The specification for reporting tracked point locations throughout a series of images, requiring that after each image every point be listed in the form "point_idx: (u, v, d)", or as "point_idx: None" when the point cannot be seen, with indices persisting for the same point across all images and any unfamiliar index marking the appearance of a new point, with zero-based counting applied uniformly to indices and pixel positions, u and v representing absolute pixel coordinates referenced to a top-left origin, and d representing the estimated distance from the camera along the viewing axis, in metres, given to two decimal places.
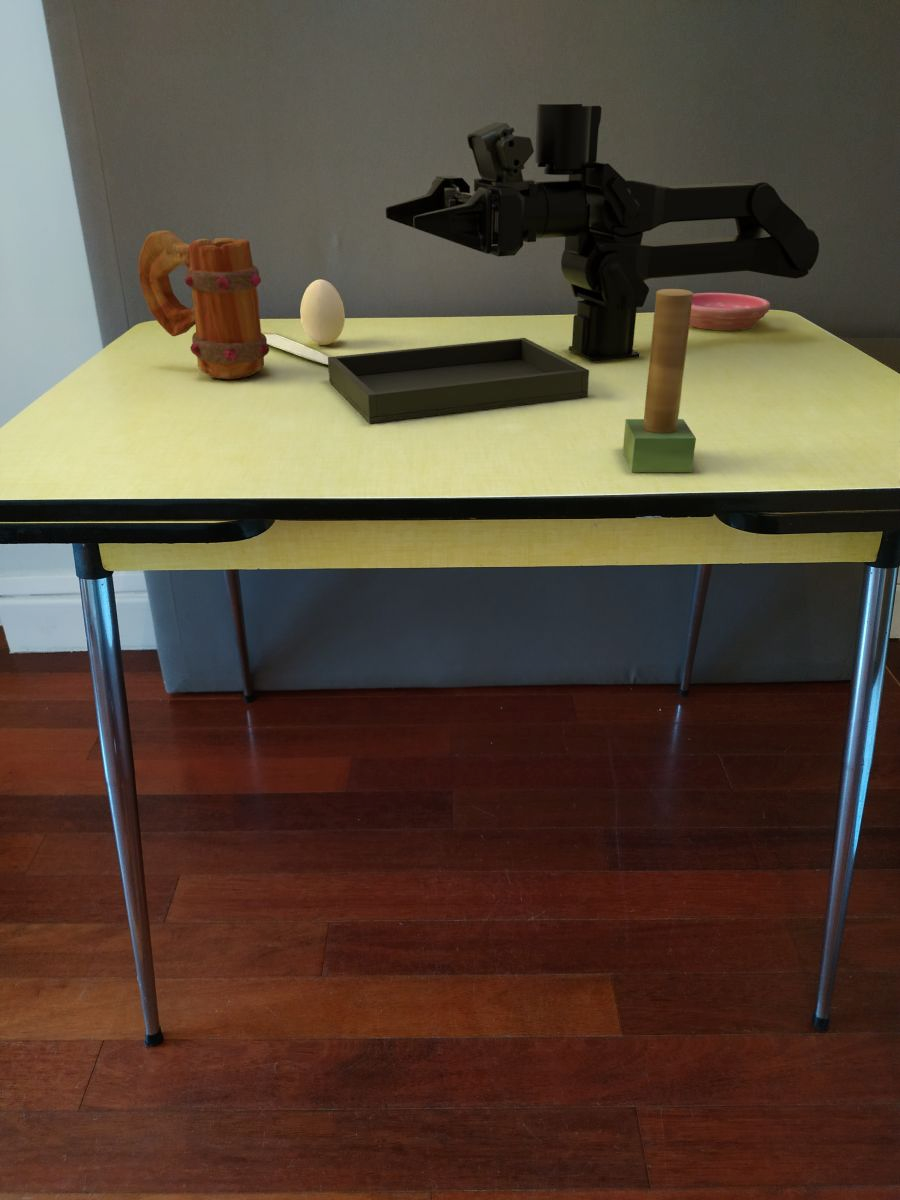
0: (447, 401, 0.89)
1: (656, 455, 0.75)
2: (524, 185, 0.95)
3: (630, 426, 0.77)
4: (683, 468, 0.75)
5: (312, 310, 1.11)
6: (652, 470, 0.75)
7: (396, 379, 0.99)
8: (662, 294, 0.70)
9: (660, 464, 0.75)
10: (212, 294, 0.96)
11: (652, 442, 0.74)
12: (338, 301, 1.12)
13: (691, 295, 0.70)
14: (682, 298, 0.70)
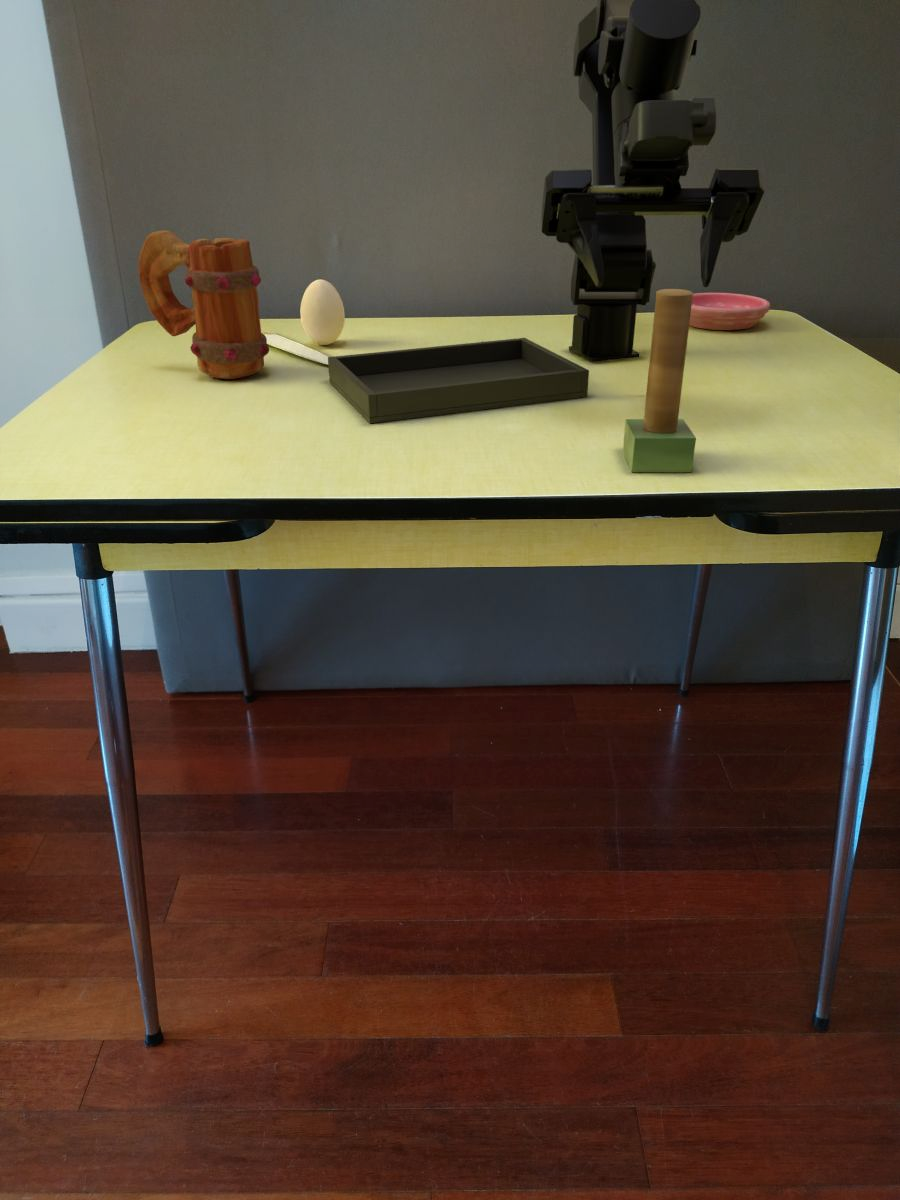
0: (447, 401, 0.89)
1: (656, 455, 0.75)
2: None
3: (630, 426, 0.77)
4: (683, 468, 0.75)
5: (312, 310, 1.11)
6: (652, 470, 0.75)
7: (396, 379, 0.99)
8: (662, 294, 0.70)
9: (660, 464, 0.75)
10: (212, 294, 0.96)
11: (652, 442, 0.74)
12: (338, 301, 1.12)
13: (691, 295, 0.70)
14: (682, 298, 0.70)
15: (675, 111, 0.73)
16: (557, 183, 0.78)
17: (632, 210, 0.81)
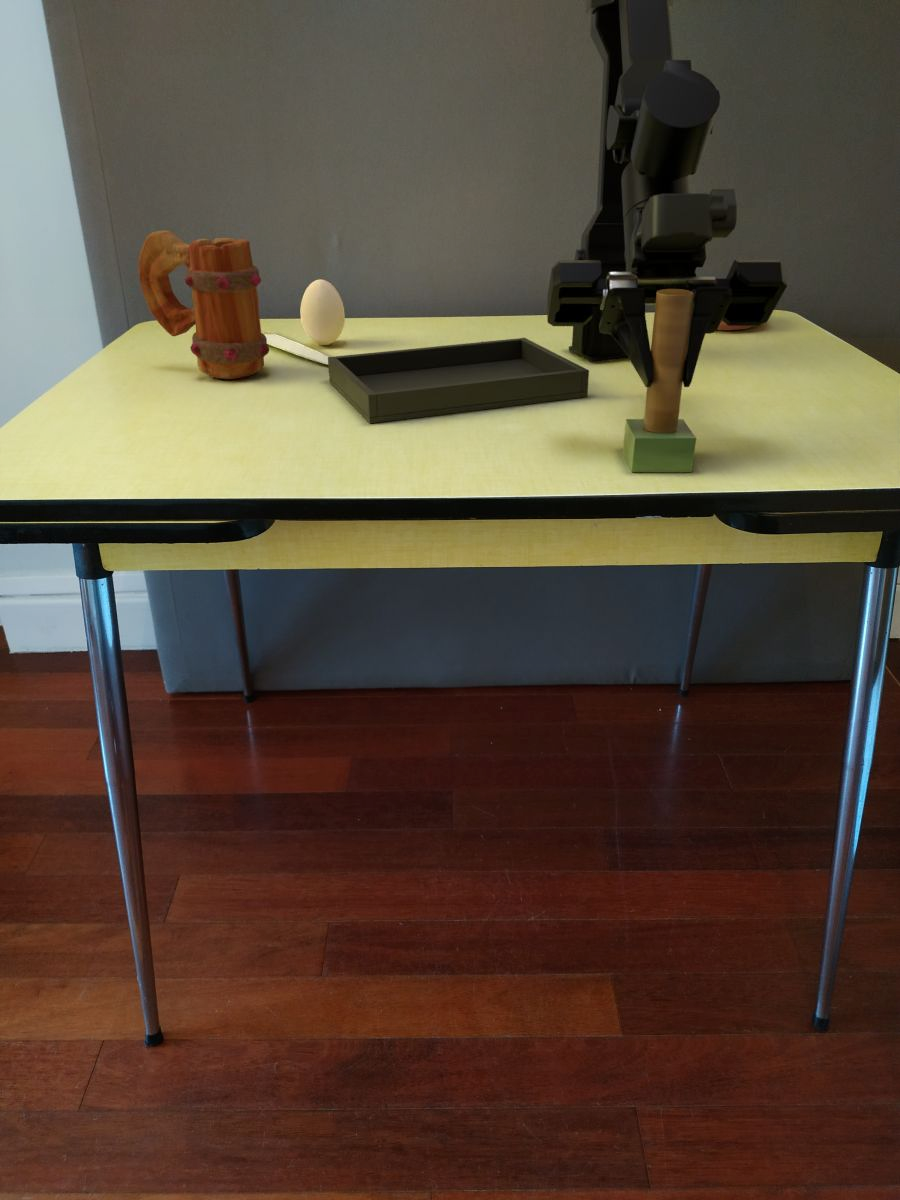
0: (447, 401, 0.89)
1: (656, 455, 0.75)
2: None
3: (630, 426, 0.77)
4: (683, 468, 0.75)
5: (312, 310, 1.11)
6: (652, 470, 0.75)
7: (396, 379, 0.99)
8: (662, 294, 0.70)
9: (660, 464, 0.75)
10: (212, 294, 0.96)
11: (652, 442, 0.74)
12: (338, 301, 1.12)
13: (691, 295, 0.70)
14: (682, 298, 0.70)
15: (693, 205, 0.68)
16: (565, 277, 0.72)
17: (645, 301, 0.75)
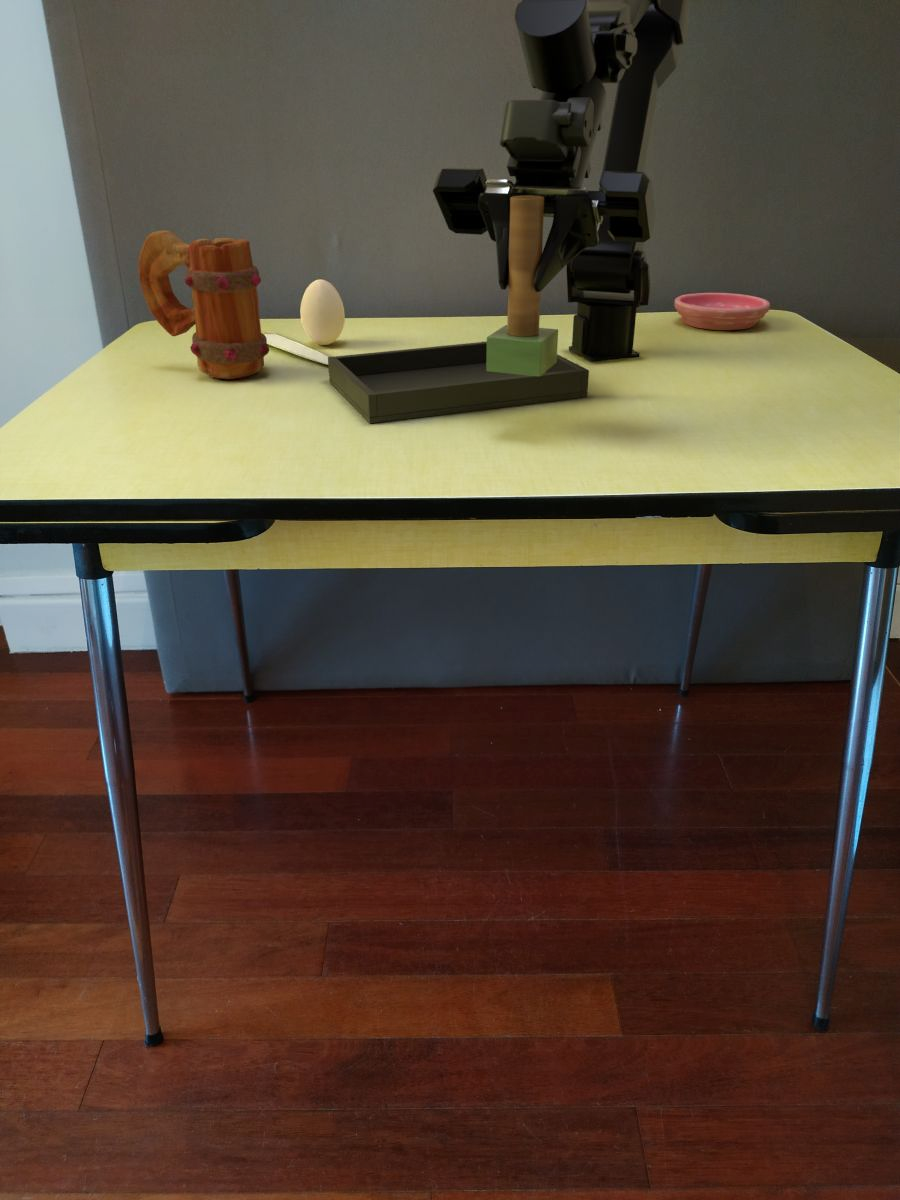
0: (447, 401, 0.89)
1: (506, 355, 0.79)
2: None
3: (499, 329, 0.81)
4: (532, 371, 0.79)
5: (312, 310, 1.11)
6: (504, 371, 0.80)
7: (396, 379, 0.99)
8: (511, 198, 0.74)
9: (511, 365, 0.79)
10: (212, 294, 0.96)
11: (502, 342, 0.79)
12: (338, 301, 1.12)
13: (537, 200, 0.74)
14: (526, 201, 0.74)
15: (538, 111, 0.72)
16: (442, 181, 0.79)
17: None
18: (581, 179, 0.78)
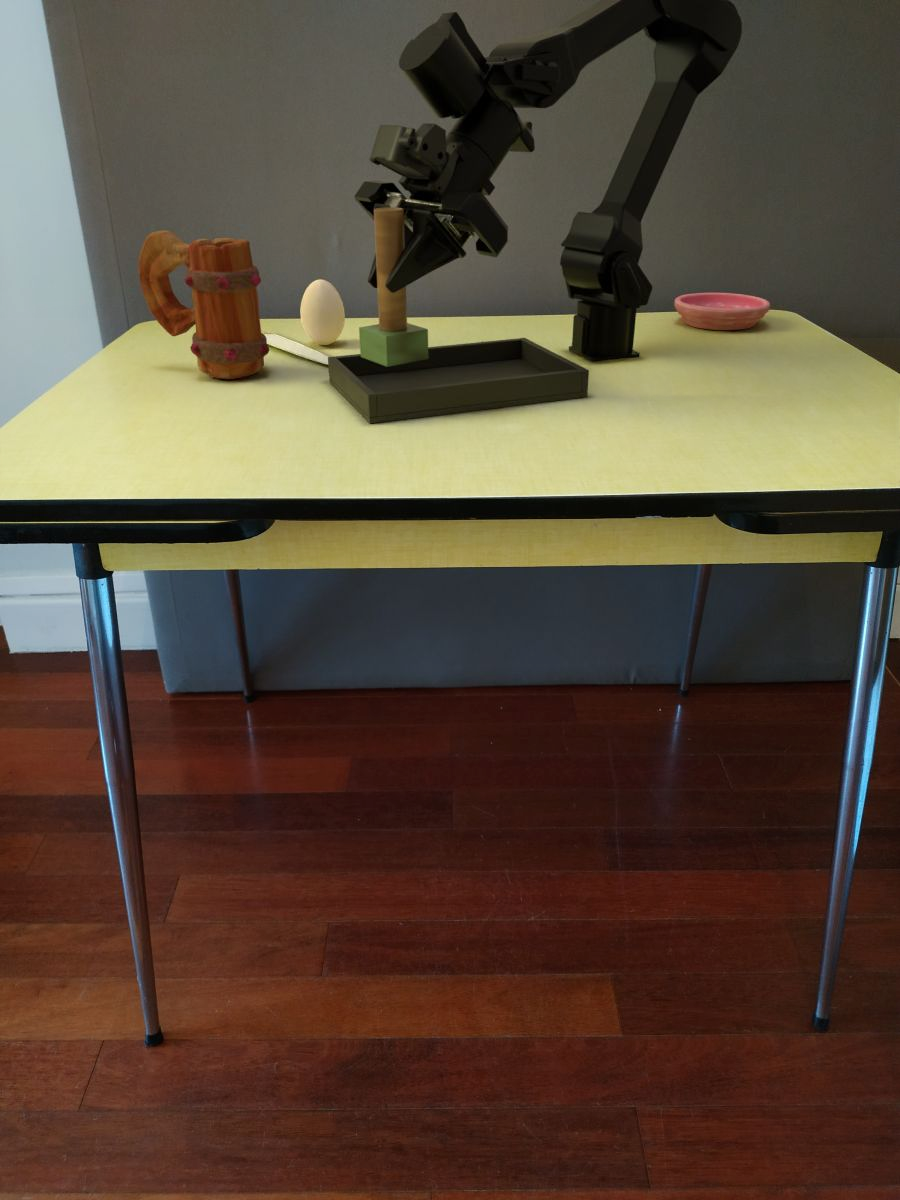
0: (447, 401, 0.89)
1: (369, 345, 0.91)
2: (454, 158, 0.85)
3: None
4: (383, 362, 0.90)
5: (312, 310, 1.11)
6: (369, 358, 0.91)
7: (396, 379, 0.99)
8: (375, 209, 0.86)
9: (372, 354, 0.91)
10: (212, 294, 0.96)
11: (366, 333, 0.90)
12: (338, 301, 1.12)
13: (388, 212, 0.84)
14: (378, 212, 0.85)
15: (391, 135, 0.82)
16: (359, 192, 0.92)
17: None
18: None
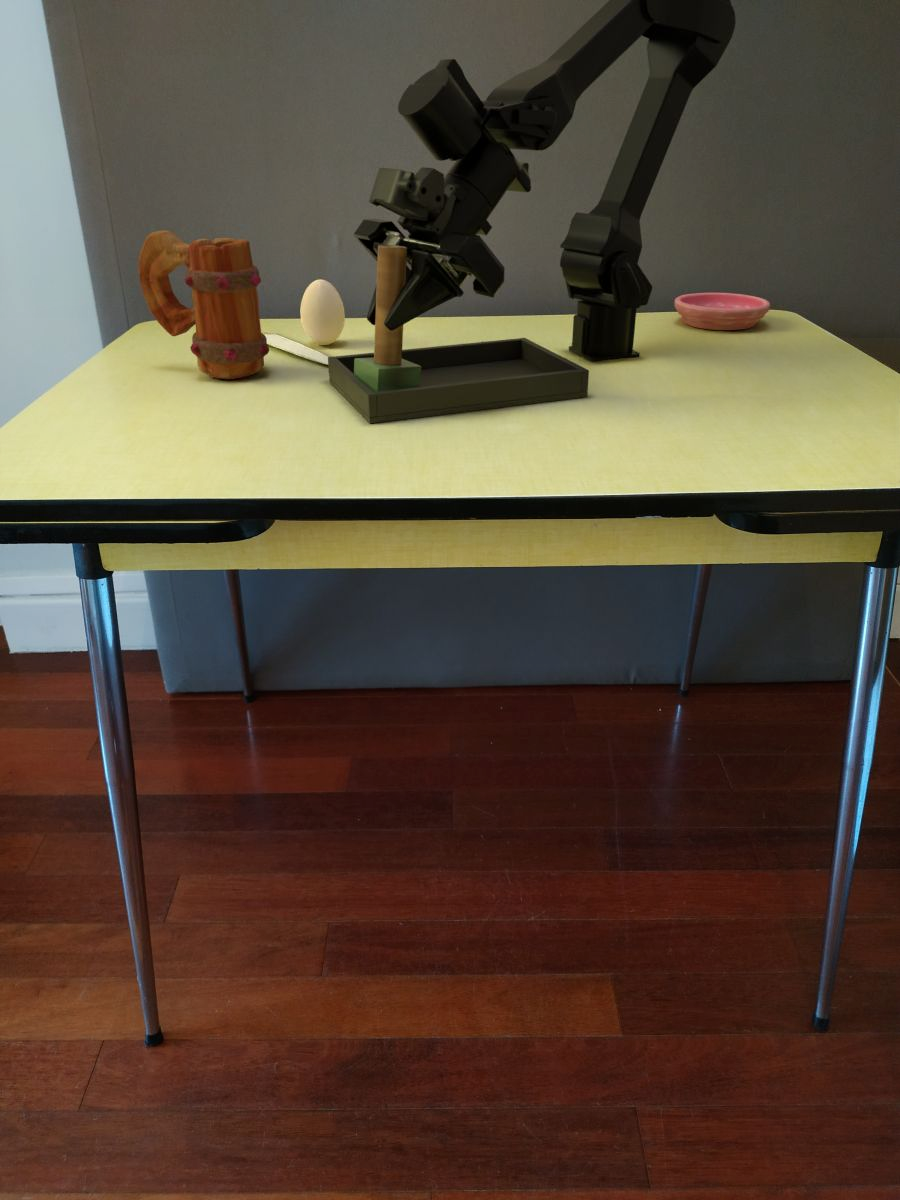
0: (447, 401, 0.89)
1: (362, 376, 0.92)
2: (451, 200, 0.86)
3: None
4: None
5: (312, 310, 1.11)
6: None
7: None
8: (380, 245, 0.88)
9: None
10: (212, 294, 0.96)
11: (361, 365, 0.92)
12: (338, 301, 1.12)
13: (391, 248, 0.86)
14: (382, 248, 0.86)
15: (390, 178, 0.84)
16: (358, 230, 0.94)
17: None
18: None
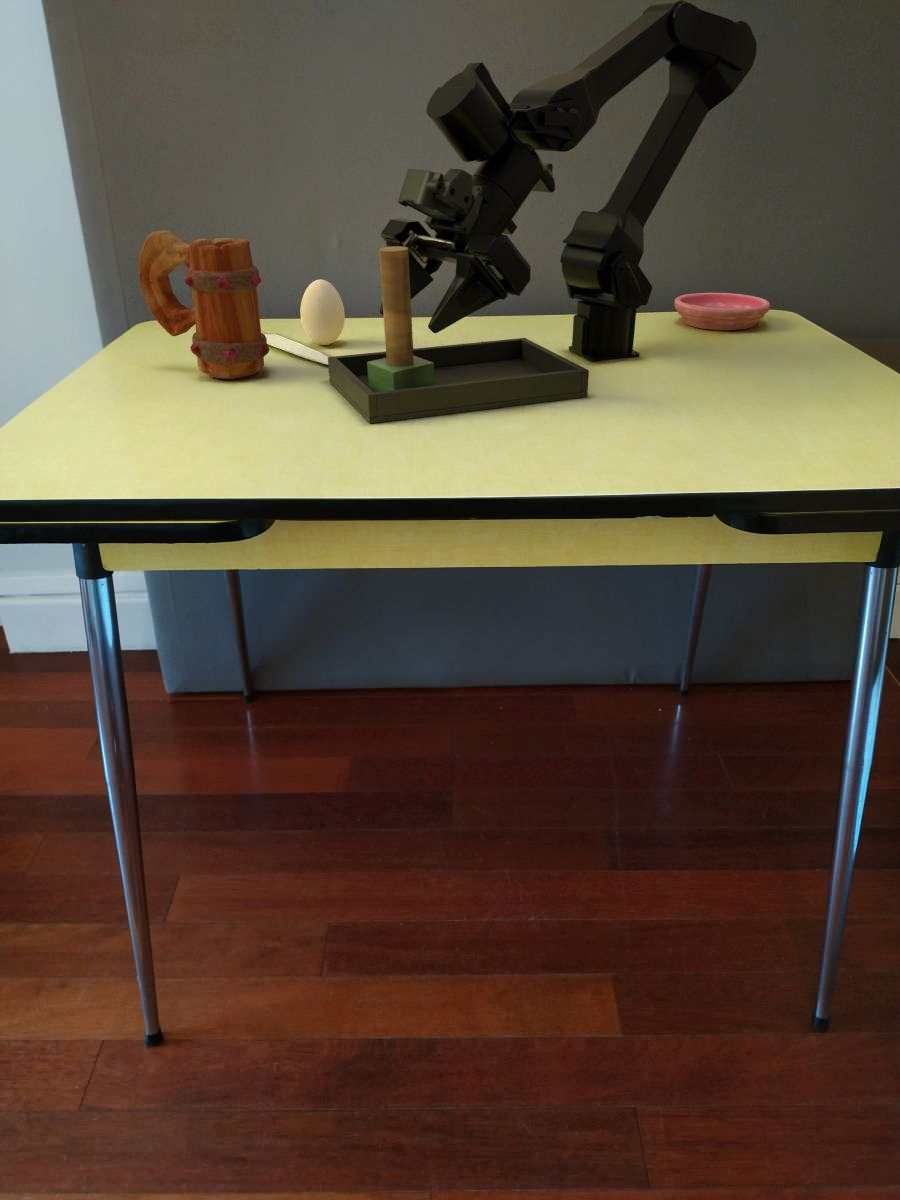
0: (447, 401, 0.89)
1: (377, 379, 0.93)
2: (478, 200, 0.88)
3: None
4: None
5: (312, 310, 1.11)
6: None
7: None
8: (381, 248, 0.88)
9: (380, 388, 0.93)
10: (212, 294, 0.96)
11: (374, 368, 0.93)
12: (338, 301, 1.12)
13: (393, 252, 0.86)
14: (383, 253, 0.87)
15: (419, 179, 0.86)
16: (385, 229, 0.96)
17: (442, 259, 0.93)
18: None
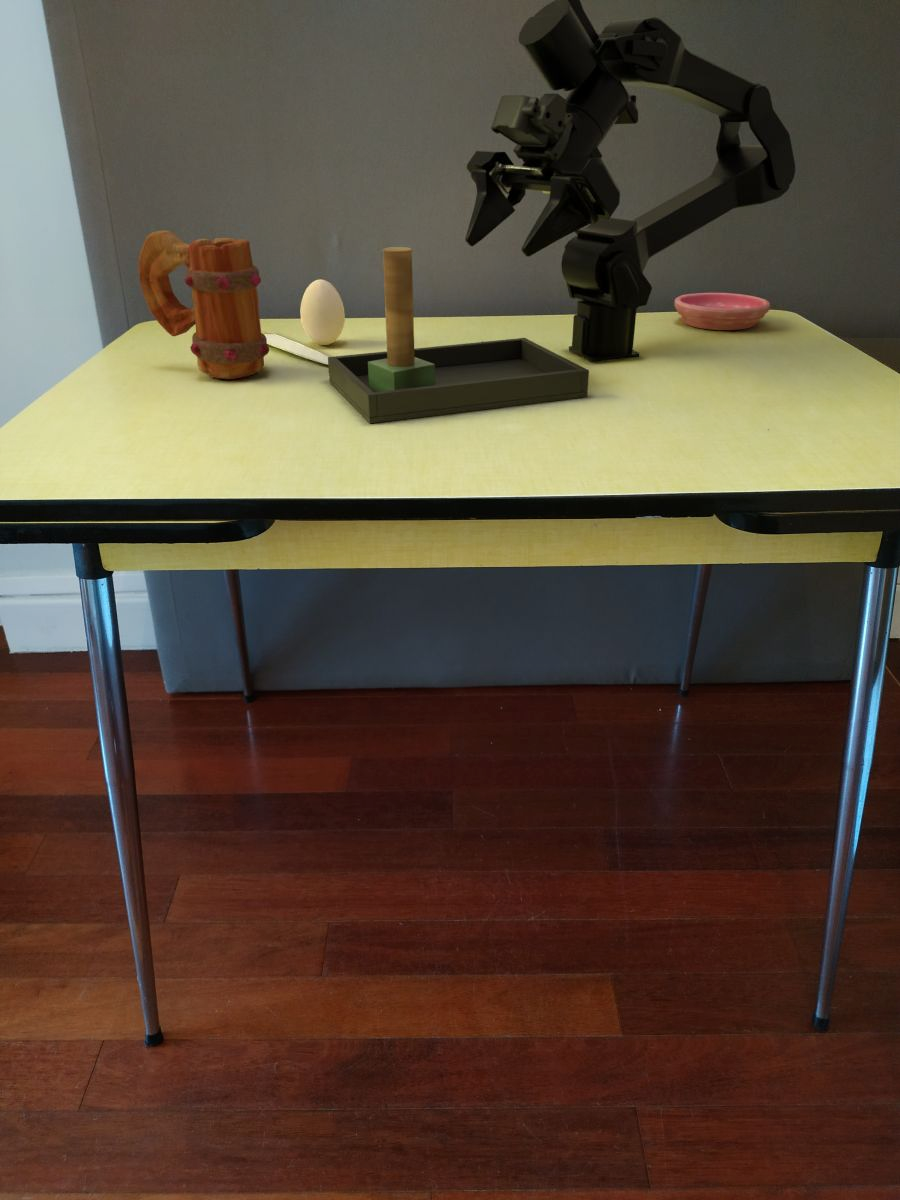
0: (447, 401, 0.89)
1: (377, 379, 0.93)
2: (569, 127, 0.91)
3: None
4: None
5: (312, 310, 1.11)
6: None
7: None
8: (384, 248, 0.88)
9: (380, 388, 0.93)
10: (212, 294, 0.96)
11: (375, 368, 0.93)
12: (338, 301, 1.12)
13: (397, 252, 0.87)
14: (387, 253, 0.87)
15: (514, 104, 0.89)
16: (471, 161, 0.99)
17: (529, 188, 0.96)
18: None
